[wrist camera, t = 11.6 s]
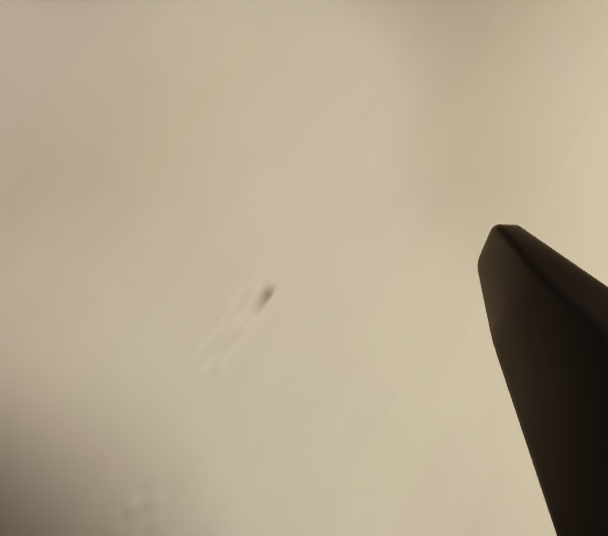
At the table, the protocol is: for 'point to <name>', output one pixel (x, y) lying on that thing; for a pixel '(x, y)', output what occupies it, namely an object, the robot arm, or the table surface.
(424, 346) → the table surface
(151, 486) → the table surface
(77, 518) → the table surface
